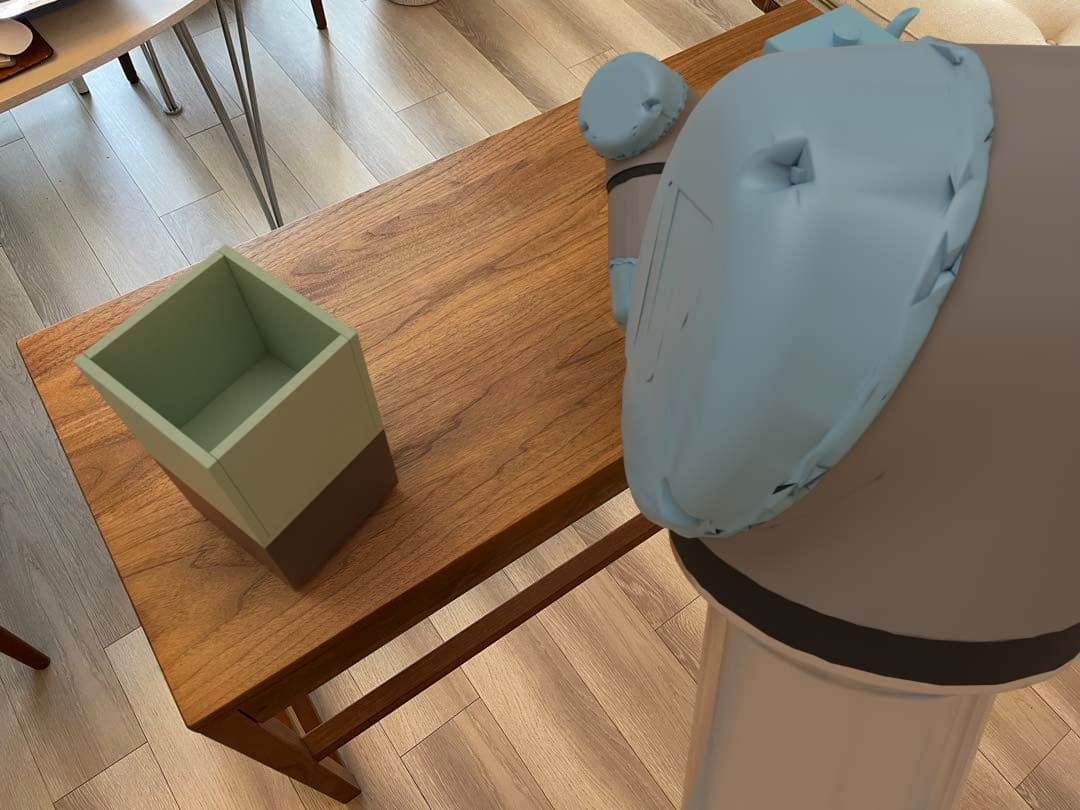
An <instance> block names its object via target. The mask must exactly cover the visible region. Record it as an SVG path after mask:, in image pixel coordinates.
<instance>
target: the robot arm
mask: <svg viewBox="0 0 1080 810" xmlns="http://www.w3.org/2000/svg"><path fill="white" fill-rule="evenodd" d="M577 124H578V125H577V126H578V129H579V131H580V133H581V136H582V138H583V140H584V141H585V142H586V144H587V145H588V146H589V147H590V148H591V149H592V150H593V151H594V152H595V154H596V156H597V157H600V158H602V159H604V162H605V163H604V165H605V189H606V191H607V266H606V267H607V273H606V274H607V275H608V276H609V287H610V289H609V290H610V302H611V314H612V318H613V321H614V323H615V325H616V326H617V327H618V329H620V330H622V331H623V332H625V337H624V339H625V340H624V341H625V343H624V358H625V360H626V368H625V373H624V378H623V385H622V393H621V399H620V400H621V401H620V430H621V448H622V449H621V450H622V457H623V466H624V472H625V478H626V482H627V485H628V488H629V492H630V495H631V497H632V499H633V501H634V503H635V504H634V505H635V506H636V508H637V509H638V511H639V512H640V513H641V515H643V517H645V518H646V519H647V520H648V521H650V522H651V523H653V524H655V525H656V526H659V527H661V528H663V529H666V530H667V534H668V541H669V546H670V548H671V552H672V554H673V557H674V560H675V562H676V563H677V565H678V567H679V569H680V570H681V572H682V573H683V576H684V577H685V578H686V580H687V581H688V583H689V584H690V585H691V586H692V587H693V589H694V590H695V591H696V593H697V594H698V595H699V596H700V597H702V598H703V599H704V601H706V602H707V608H706V615H705V616H706V617H705V621H704V623H705V624H704V629H703V630H704V631H703V638H702V646H701V654H700V662H699V668H698V676H697V683H696V685H697V686H696V690H695V700H694V707H693V713H692V714H693V715H692V722H691V729H690V730H691V731H690V738H689V745H688V752H687V753H688V754H687V761H686V767H685V775H684V783H683V791H682V799H681V805H680V810H958V806H959V804H960V801H961V798H962V795H963V793H964V790H965V787H966V784H967V782H968V778H969V775H970V773H971V770H972V767H973V764H974V762H975V758H976V755H977V753H978V750H979V748H980V744H981V741H982V739H983V737H984V734H985V733H984V732H985V730H986V727H987V725H988V722H989V719H990V716H991V712H992V711H993V707H994V704H995V702H996V699H997V696H998V694H1002V693H1007V692H1012V691H1018V690H1021V689H1022V690H1023V689H1026V688H1030V687H1031V686H1035V685H1038V684H1040V683H1042V682H1046V681H1049V680H1050V679H1052V678H1054V677H1056V676H1057V675H1059V674H1061V673H1064V672H1065V671H1067V670H1068V669H1070V668H1071V666H1073V665H1074V664H1075V663H1076V662H1077V661H1078V660H1079V659H1080V45H1063V44H1062V45H1061V44H1060V45H1059V44H1015V43H1014V44H1012V43H1010V44H1009V43H1008V44H1007V43H966V42H965V43H963V42H962V43H961V42H960V43H959V42H956V41H951V40H947V39H946V40H945V39H943V38H938V37H936V36H933V35H932V36H931V35H929V34H927V35H925V36H922V37H921V38H919V39H917V40H908V41H907V40H906V41H901V42H896V43H883V44H869V45H855V46H841V47H828V48H814V49H800V50H789V51H782V52H776V53H770V54H767V55H764V56H758V57H755V58H752V59H750V60H748V61H746V62H744V63H742V64H740V65H739V66H737V67H736V68H734V69H732V70H731V71H729V72H728V73H727V74H725V75H724V76H723V77H721V78H720V79H719V80H718V81H717V82H716V83H715V84H714V85H713V86H712V87H711V88H710V89H709V90H708V91H707V92H706V93H705V95H703V97H702V96H701V95H700V94H699V93H698V92H697V91H696V90H694V89H693V87H692V86H691V85H689V83H687V80H686V79H685V78H684V76H683V75H682V74H681V73H680V72H679V71H677V70H675V69H672V68H671V67H669V66H668V65H666V64H665V63H664V62H662V61H661V60H659V59H658V58H656V57H655V56H653V55H651V54H649V53H646V52H642V51H630V52H629V51H628V52H626V53H623V54H618V55H617V56H616V57H613V58H611V59H609V60H608V61H606V62H605V63H604V64H602V65H601V66H600V67H599V68H597V70H596V71H595V72H594V73H593V74H592V75H591V77H590V79H589V80H588V81H587V82H586V85H585V87H584V88H583V91H582V94H581V96H580V99H579V103H578V108H577Z"/></svg>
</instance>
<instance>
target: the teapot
mask: <svg viewBox="0 0 1080 810" xmlns="http://www.w3.org/2000/svg"><path fill="white" fill-rule="evenodd" d="M920 11H921V10H920V8H919V7H916V6H912V7H908V8H906V9H904V10H902V11H900V12H899V13H898V14H897V15H896V16H895V17H894V18H893V19H892V20H891V21H890V22H889V23H888V24H887V26H886V27H885V28H882V27H881V26H879V24H876V23H875V22H874V21H873V20H871V19H869V18H868V17H866V16H865V15H863V14H862V13H861V12H859V11H857V10H856V9H855V8H853V7H852V6H850V5H849V4H843V5H842V6H839V7H837V8H834V9H832V10H830V11H827V12H825V13H823V14H820V15H818V16H816V17H813V18H811V19H809V20H807V21H804V22H802V23H800V24H798V25H796V26H793V27H791V28H788V29H787V30H785V31H782V32H780V33H778V34H776V35H773V36H772V37H769V38H768V39H766V40H765V42H764V46H763V49H762V52H761V56H764V55H767V54H770V53H776V52H782V51H789V50H800V49H814V48H828V47H841V46H855V45H869V44H883V43H896V42H902V40H900V38H901V36H902V35H903V32H904V31H905V30H906V28H907V27H908V25H909V24H910V23H911V22H912V21H913V20H914V19H915V18H916V17H917V16H918V15H919V14H920ZM761 56H760V57H761Z"/></svg>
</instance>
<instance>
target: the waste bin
mask: <svg viewBox="0 0 1080 810" xmlns="http://www.w3.org/2000/svg"><path fill="white" fill-rule="evenodd" d="M72 363H73V364H74V365H75V366H76V367H77V368H78V370H79V371H80V372H81V373H82V375H83V376H84V377H85V378H86V379H87V381H88V383H90V384H91V386H92V387H93V388H94V389H95V390H96V392H97V393H98V394H99V395H100V396H101V397H102V399H103V400H104V402H106V404H107V405H108V406H109V407H110V408H111V410H112V411H113V412H114V413H115V414H116V416H117V417H118V418H119V419H120V421H121V422H122V423H123V424H124V425H125V426H126V428H127V429H128V430H129V431H130V433H131V434H132V435H133V436H134V437H135V439H136V440H137V441H138V442H139V443H140V445H141V446H142V447H143V448H144V450H145V451H146V452H147V453H148V454H149V456H150V457H151V458H152V460H154V462H155V463H156V464H157V465H158V466H159V467H160V469H161V470H162V471H163V473H164V474H165V475H166V476H167V477H168V478H169V480H170V481H171V482H172V483H173V485H174V486H175V487H176V488H177V490H179V492H180V493H181V494H182V495H183V497H185V500H187V501H188V502H189V504H190V505H191V506H192V507H193V508H194V509H195V510H196V511H197V512H198V513H200V515H202V516H203V517H205V518H206V519H207V520H208V521H209V522H211V523H212V524H213V525H214V526H216V527H217V528H218V529H219V530H220V531H221V532H222V533H224V534H225V535H226V536H227V537H229V538H230V539H231V540H232V541H234V542H235V543H236V544H237V545H239V546H240V547H241V548H242V549H243V550H244V551H246V552H247V553H248V554H249V555H251V556H252V557H253V558H254V559H256V560H257V561H258V562H259V563H260V564H261V565H262V566H264V567H265V568H266V569H268V570H269V571H270V572H271V573H273V574H274V575H275V576H276V577H277V578H278V579H280V580H281V581H283V583H284V584H286V585H287V586H288V587H289V588H291V589H292V590H293V591H294V592H296V593H297V592H298V591H299V590H300V589H301V588H302V587H303V586H304V584H305V583H306V582H307V581H308V580H309V579H310V578H311V577H312V576H313V575H314V574H315V573H316V572H317V571H318V569H320V568H321V566H322V565H323V564H324V563H325V562H326V561H327V560H328V559H329V558H330V557H331V555H333V553H334V552H335V551H336V550H337V549H338V548H339V547H340V546H341V545H342V544H343V543H344V542H345V541H346V540H347V538H348V537H349V536H350V535H351V534H352V533H353V532H354V531H355V530H356V529H357V528H358V527H359V526H360V525H361V524H362V523H363V522H364V521H365V519H366V518H367V517H369V515H370V514H371V513H372V512H373V511H374V510H375V509H376V508H377V507H378V505H380V503H382V502H383V500H384V499H385V498H386V497H387V496H388V495H389V494H390V493H391V492H392V491H393V490H394V489H395V488H396V487H397V486H398V484H400V481H399V477H398V474H397V470H396V467H395V463H394V459H393V456H392V452H391V448H390V446H389V441H388V437H387V434H386V429H385V427H384V423H383V419H382V417H381V416H382V415H381V413H380V408H379V406H378V405H379V404H378V402H377V398H376V395H375V390H374V388H373V384H372V380H371V376H370V373H369V371H368V369H369V368H368V366H367V362H366V359H365V355H364V351H363V348H362V344H361V341H360V337H359V334H358V332H357V331H356V330H355V329H353V328H351V327H350V326H348V325H347V324H345V323H344V322H343V321H341V320H339V319H338V318H336V316H333V315H332V314H330V313H329V312H328V311H326V310H325V309H323V308H322V307H320V306H318V305H317V304H316V303H314V302H313V301H311V300H310V299H308V298H307V297H305V296H303V295H302V294H301V293H299V292H297V291H296V290H295V289H294V288H293V287H290V286H289V285H287V284H286V283H284V282H283V281H281V280H280V279H279V278H277V277H276V276H274V275H273V274H271V273H270V272H268V271H267V270H265V269H263V268H262V267H260V266H259V265H257V264H256V263H255V262H254V261H251V260H250V259H249V258H247V257H246V256H244V255H242V254H241V253H240V252H238V251H236V250H235V249H233V248H232V247H231V246H229V245H228V244H223V245H222V246H221V247H219V248H218V249H217V250H215V251H213V253H211V254H210V255H209V256H207V257H206V258H205V259H203V260H202V261H201V262H200V263H198V264H197V265H195V266H194V267H193V268H192V269H191V270H189V271H188V272H186V273H185V274H184V275H183V276H181V277H180V278H179V279H177V280H176V281H175V282H173V283H172V284H170V286H168V287H167V288H166V289H164V290H163V291H162V292H160V293H159V294H158V295H156V296H155V297H154V298H152V299H151V300H150V301H149V302H148V303H146V304H145V305H144V306H143V307H141V308H139V309H138V310H137V311H136V312H134V313H133V314H132V315H130V316H129V317H128V318H126V319H125V320H124V321H123V322H121V323H119V325H117V326H116V327H115V328H114V329H112V330H111V331H109V332H108V333H107V334H106V335H104V336H103V337H102V338H100V339H99V340H98V341H96V342H95V343H93V344H92V345H91V346H90V347H89V348H87V349H86V350H84V351H83V352H82V353H80V354H79V355H78V356H77V357H75V358H74V359H73V360H72Z"/></svg>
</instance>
